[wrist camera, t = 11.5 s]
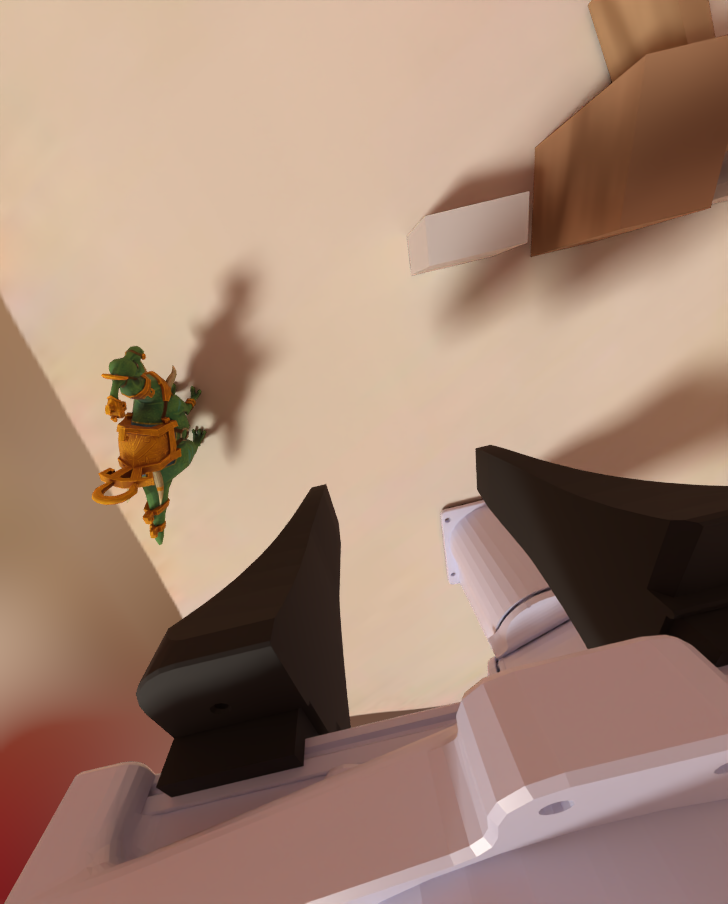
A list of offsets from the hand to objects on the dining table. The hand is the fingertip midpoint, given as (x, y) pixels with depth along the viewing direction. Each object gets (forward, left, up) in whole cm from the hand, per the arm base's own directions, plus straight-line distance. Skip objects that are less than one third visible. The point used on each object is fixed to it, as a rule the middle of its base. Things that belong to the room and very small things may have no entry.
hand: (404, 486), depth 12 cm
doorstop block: (+10, -14, -10) cm, 20 cm away
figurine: (+2, +13, -10) cm, 17 cm away
